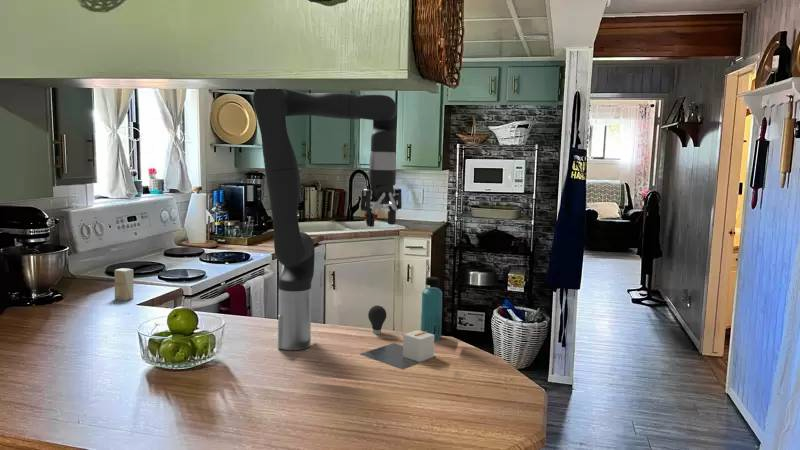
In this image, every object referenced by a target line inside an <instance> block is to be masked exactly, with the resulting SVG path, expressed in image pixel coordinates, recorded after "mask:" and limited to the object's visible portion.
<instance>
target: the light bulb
mask: <svg viewBox="0 0 800 450" xmlns="http://www.w3.org/2000/svg"><path fill="white" fill-rule="evenodd" d="M386 311H387V310H386V309H385V307H383V306H381V305H373V306H372V307H371V308H370V309H369V311H368V313H367V317H368V320H369V322H370V324H371V327H372V333H373V334H375V335H380V334H382V328H383V325H384V323H385V321H386V319H387V312H386Z"/></svg>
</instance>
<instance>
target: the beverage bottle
mask: <svg viewBox="0 0 800 450" xmlns="http://www.w3.org/2000/svg"><path fill="white" fill-rule="evenodd" d="M425 285H426V286H427V287H426V288H424V289H423V290H422V292H421V313H420V314H421V315H420V331H423V332H424V331H426V332H427V333H430V334H433V335H434V341H439V340H441V337H442V335H443V334H442V330H443V323H442V321H443V319H442V318H443V291H442V290H441V289H440V288H439V287H437V286H439V285H440V278H439V277H438V276H437V277H436V276H428V277H426V279H425ZM428 286H429V287H428Z"/></svg>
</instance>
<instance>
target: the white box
mask: <svg viewBox="0 0 800 450" xmlns="http://www.w3.org/2000/svg"><path fill="white" fill-rule="evenodd" d="M402 341H403V343H402V346H403V357H406V358H409V359H412V360H415V361H418V362H421V361H424V360H426V359H429V358H432V357H434V356H435V355H434V353H435V340H434V335H433V334H430V333H427V332H426V331H424V332H423V331H421V330H419V329H416V330H414V331H410V332H407V333H404V334H403V339H402ZM432 359H433V358H432ZM424 362H425V361H424Z"/></svg>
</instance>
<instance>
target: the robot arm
mask: <svg viewBox="0 0 800 450" xmlns="http://www.w3.org/2000/svg"><path fill="white" fill-rule="evenodd" d="M252 95H253V96H252V104H253V109H254V113H255V116H256V119H257V123H258V127H259V132H260V136H261V137H260V139H261V147H262V149H261V150H262V154H263V155H262V157H263V163H264V165H263V166H264V173H265V178H266V184H267V186H266V187H267V190H268V195H269V197H268V198H269V203H270V209H271V217H272V226H273V227H272V228H273V229H272V230H273V247H274V248H273V249H274V253H275V254H274V255H275V257H276V259H277V261H278V262H279V263H280V264H281V265H283V270H282V273H281V275H280V277H279V278H278V321H277V322H278V324H277V327H278V328H277V333H278V334H277V349H278V350H285V351H300V350H301V351H302V350H305V349H308V348H310V346H311V339H312V337H311V328H312V324H311V323H312V322H311V321H312V319H311V317H312V281H313V279H314V274H315V259H316V257H315V255H316V252H315V244H314V240H313V239H312V237H311V236H310V235H309V234H308V233H307V232H303V231H300V225H299V217H298V215H299V214H298V213H299V212H298V211H299V210H298V209H299V204H300V196H301V176H300V171H299V165H298V160H297V156H296V153H295V150H294V147H293V144H292V142H291V140H290V137H289V133H288V129H287V128H288V127H287V121H286V117H292V116H294V117H295V116H311V117H312V116H314V117H323V118H332V119H342V120H361V119H362V120H370V121H372V133H371V138H370V154H369V155H370V156H369V164H368V165H369V169H368V170H369V171H368V172H369V174H368V184H369V185H370V188H369V189H366V188H363V189H361V197H360V198H361V199H360V211H362V212H365V215H366V217H365V218H366V219H365V220H366V221H365V223H366V226H367V227H370V228H371V227H373V228H374V226H375V211H376V210H377V209H378V208H379V206H380V205H385V206H386V207H387V210H388V212H387V224H388V225H391V226H392V225H393V226H395V224H396V219H397V218H396V215H397V212H398V210H401V209H402V205H403V204H402V189H401V188H398V187H394V186H395V185H396V184H397V182H396V181H397V179H396V178H397V177H396V176H397V156H396V152H397V151H396V149H397V148H396V147H397V145H396V144H397V138H396V137H397V136H396V131H397V130H396V129H397V122H398V121H397V120H398V105H397V103H396V101H395V100H394V99H393V98H392V97H391V96H389V95H387V94H386V95H384V94H357V93H346V92H320V93H319V92H317V93H311V92H310V93H309V92H308V93H307V92H300V91H295V90H290V89H286V88H284V89H256V88H255V90H254V92H253V94H252Z"/></svg>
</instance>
